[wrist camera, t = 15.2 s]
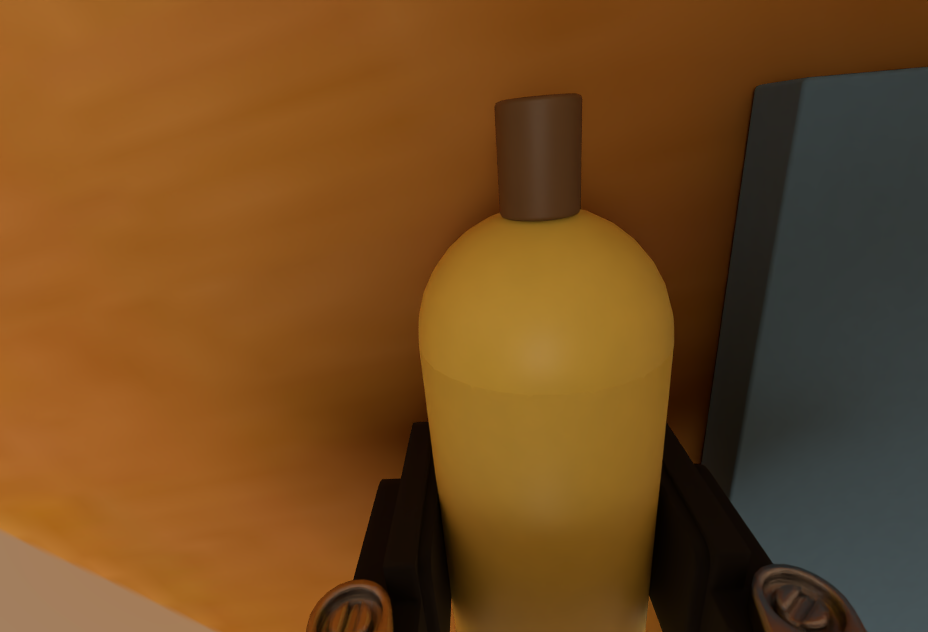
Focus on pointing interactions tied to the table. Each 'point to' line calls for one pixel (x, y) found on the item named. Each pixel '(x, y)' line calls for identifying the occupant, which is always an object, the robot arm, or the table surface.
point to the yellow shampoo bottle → (546, 395)
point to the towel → (832, 339)
